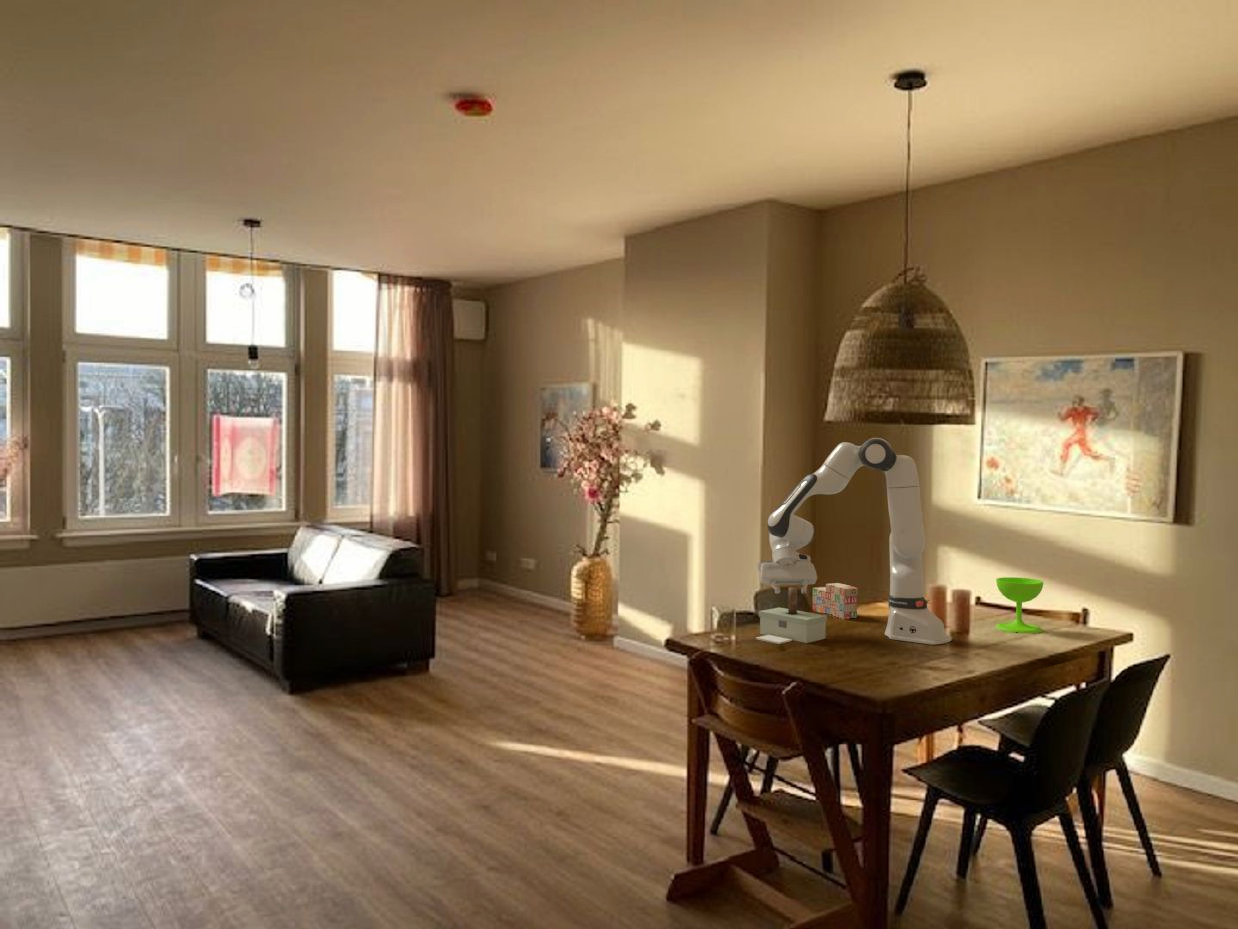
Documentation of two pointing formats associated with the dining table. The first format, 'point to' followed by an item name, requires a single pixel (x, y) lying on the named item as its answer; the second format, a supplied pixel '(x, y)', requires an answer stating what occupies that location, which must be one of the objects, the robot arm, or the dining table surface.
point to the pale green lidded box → (793, 625)
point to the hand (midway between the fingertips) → (791, 592)
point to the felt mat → (773, 639)
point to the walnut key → (792, 601)
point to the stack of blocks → (836, 600)
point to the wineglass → (1019, 601)
